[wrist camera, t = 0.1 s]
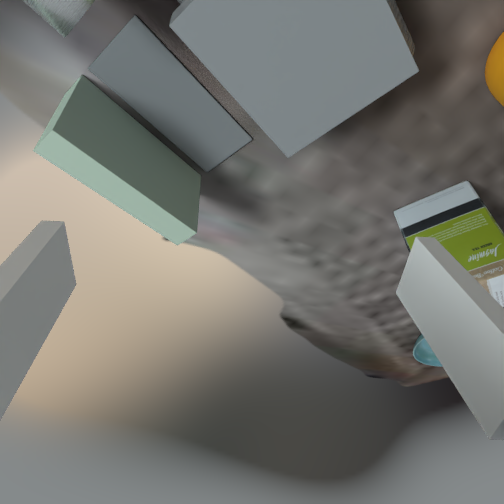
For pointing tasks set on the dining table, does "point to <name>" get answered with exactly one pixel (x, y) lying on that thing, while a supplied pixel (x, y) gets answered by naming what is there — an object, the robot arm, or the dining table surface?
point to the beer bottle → (496, 70)
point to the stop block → (122, 161)
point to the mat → (168, 95)
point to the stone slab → (297, 59)
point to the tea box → (460, 233)
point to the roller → (60, 12)
